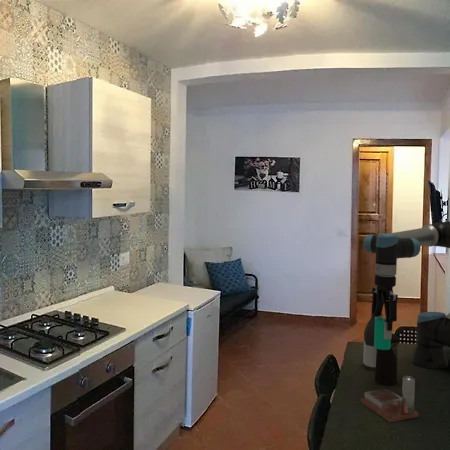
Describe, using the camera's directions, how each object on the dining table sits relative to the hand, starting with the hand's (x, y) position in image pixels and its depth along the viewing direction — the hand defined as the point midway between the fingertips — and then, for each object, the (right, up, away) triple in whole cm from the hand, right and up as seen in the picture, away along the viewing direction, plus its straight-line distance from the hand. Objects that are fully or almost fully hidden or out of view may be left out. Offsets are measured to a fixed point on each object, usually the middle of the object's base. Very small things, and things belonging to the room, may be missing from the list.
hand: (382, 335), depth 180 cm
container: (+6, -23, +16) cm, 28 cm away
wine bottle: (+6, -21, +31) cm, 38 cm away
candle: (0, -5, 0) cm, 5 cm away
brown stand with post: (-1, -24, -9) cm, 26 cm away
